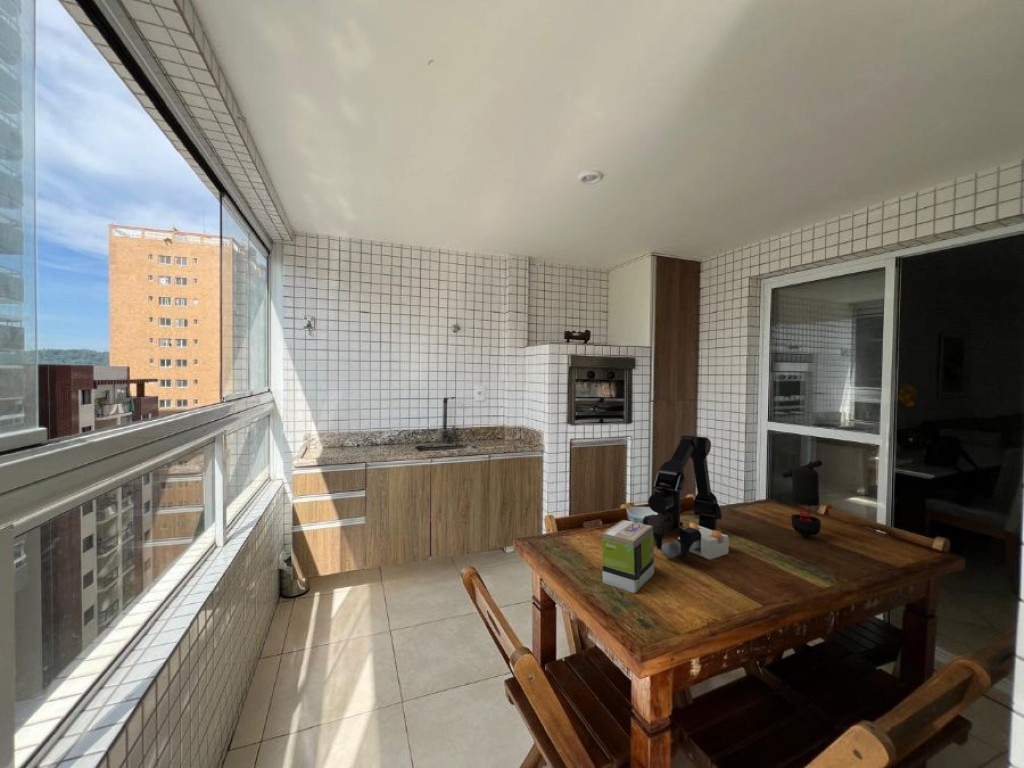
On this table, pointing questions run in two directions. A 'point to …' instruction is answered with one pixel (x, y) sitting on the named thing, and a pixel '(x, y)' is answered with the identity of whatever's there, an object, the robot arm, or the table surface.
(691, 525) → the plunger
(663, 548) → the cartridge
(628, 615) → the table surface
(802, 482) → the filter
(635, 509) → the chinaware
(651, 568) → the tea box
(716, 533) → the plunger
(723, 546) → the housing
